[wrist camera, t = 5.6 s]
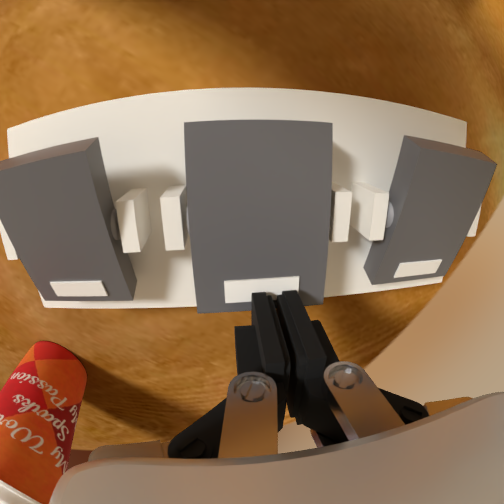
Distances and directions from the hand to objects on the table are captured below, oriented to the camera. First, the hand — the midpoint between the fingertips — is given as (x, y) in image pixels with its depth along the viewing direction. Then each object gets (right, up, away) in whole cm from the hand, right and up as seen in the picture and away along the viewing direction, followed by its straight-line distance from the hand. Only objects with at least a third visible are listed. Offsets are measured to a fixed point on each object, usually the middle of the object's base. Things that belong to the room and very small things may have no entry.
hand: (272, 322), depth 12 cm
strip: (-3, +6, +4) cm, 8 cm away
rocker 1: (-9, +4, -1) cm, 9 cm away
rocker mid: (-1, +4, -1) cm, 4 cm away
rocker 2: (+7, +5, 0) cm, 9 cm away
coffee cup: (-18, -7, +9) cm, 21 cm away
